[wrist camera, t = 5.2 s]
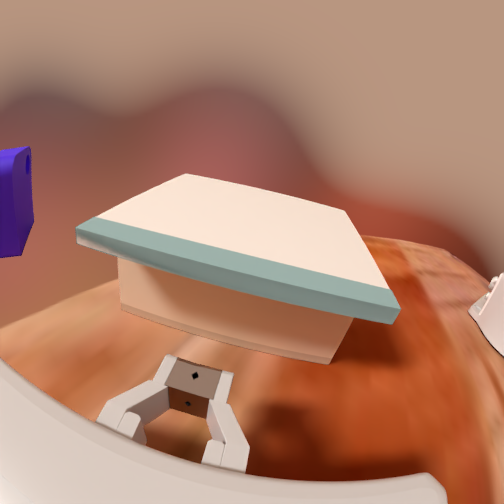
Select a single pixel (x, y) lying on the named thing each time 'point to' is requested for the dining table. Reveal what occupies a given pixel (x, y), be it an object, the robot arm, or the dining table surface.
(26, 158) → the bracket
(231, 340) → the box
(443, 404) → the dining table surface
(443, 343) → the dining table surface
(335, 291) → the lid
